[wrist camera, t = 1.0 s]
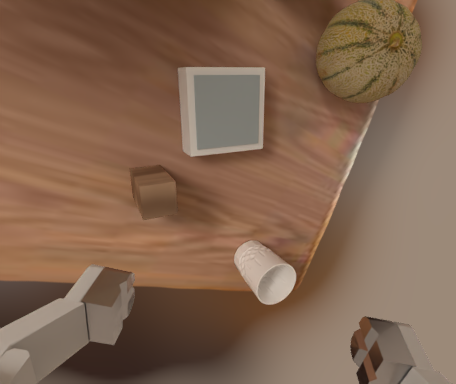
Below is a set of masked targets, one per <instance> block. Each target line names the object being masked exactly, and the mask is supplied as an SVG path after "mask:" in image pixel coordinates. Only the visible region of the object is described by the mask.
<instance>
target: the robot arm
mask: <svg viewBox="0 0 456 384" xmlns="http://www.w3.org/2000/svg"><path fill="white" fill-rule="evenodd" d="M134 281H135V278H134V273H132V272H127V271H123V270H118V269H114V268H109V267H103V266H98V265H94V264H92V265H90V266H89V267H88V268H87V269H86V270H85V272H84V273H83V274H82V276H81V277H80V278H79V280H78V281H77V282H76V284H75V285H74V286H73V287H72V289H71V290H70V292H69V293H68V294H67V296H66V297H65V298H64V299H61V298H59V299H57V300H55V301H53V302H52V303H49V304H47V305H45V306H44V307H42V308H40V309H38V310H36V311H34V312H32V313H30V314H28V315H26V316H24V317H22V318H20V319H18V320H16V321H14V322H13V323H11V324H9V325H7V326H5V327H3V328H1V329H0V384H37V383H38V382H39V381H40V380H41V379H43V378H44V377H45V376H47V375H48V374H49V373H50V372H52V371H53V370H54V369H56V368H57V367H58V366H59V365H61V364H62V363H63V362H64V361H65V360H67V359H68V358H70V357H71V356H72V355H73V354H75V353H76V352H77V351H78V350H80V349H81V348H82V347H83V346H85V345H86V344H87V343H88V342H89V341H94V342H100V343H106V344H112V345H114V344H115V342H116V340H117V337H118V335H119V334H120V331H121V329H122V320H123V319H125V318H126V317H128V315H129V313H130V310H131V308H132V305H133V301H134V295H135V290H134V288H133V287H132V285H133V283H134ZM359 325H360V328H361V329H359V330H357V331H355V332H354V334H353V336H352V338H351V345H350V347H351V355H352V359H353V361H354V362H355V363H356V364H357V366H358V367H359V369H358V371H357V373H356V374H357V377H358V381H359V384H452V383H451V382H450V381H449V380H447V379H446V378H445V377H444V376H443V375H442V374H441V373H440V372H438V371H434V369H433V367H432V365H431V363H430V361H429V359H428V357H427V355H426V353H425V351H424V349H423V347H422V345H421V343H420V341H419V339H418V338H417V335H416V333H415V331H414V330H413V328H412V327H411V326H410V325H409V324H404V323H399V322H392V321H387V320H382V319H377V318H371V317H366V316H365V317H363V318H362V319H361V321H360V322H359Z"/></svg>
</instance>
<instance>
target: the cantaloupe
mask: <svg viewBox="0 0 456 384" xmlns="http://www.w3.org/2000/svg"><path fill="white" fill-rule="evenodd" d="M421 50H422V40H421V32H420V26H419V25H418V22H417V20H416V19H415V18H414V16H413V15H412V13H411V12H410V11H409V9H408V8H407V7H405V6H403V5H402V4H399V3H397V2H395V1H393V0H359V1H358V2H356V3H353V4H351V5H349V6H348V7H346V8H344V9H342V10H341V11H340V12H339V13H337V14H336V15H335V16H334V17H333V18H332V19H331V21H330V22H329V23H328V25H327V27H326V29H325V31H324V32H323V34H322V35H321V38H320V40H319V43H318V46H317V50H316V68H317V71H318V75H319V77H320V78H321V80H322V83H323V85H324V86H325V87H326V88H327V89H328V90H329V91H330V92H331V93H333V94H334V95H336V96H337V97H340V98H341V99H343V100H346V101H349V102H354V103H368V102H372V101H375V100H378V99H380V98H382V97H384V96H387V95H389V94H391V93H393V92H394V91H395V90H397V89H398V88H399V87H400V86H401V85H402V84H403V83H404V82H405V81H406V80H407V79H408V77H409V76H410V74H411V72H412V70H413V68H414V67H415V65H416V63H417V62H418V59H419V56H420V54H421Z"/></svg>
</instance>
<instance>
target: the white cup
mask: <svg viewBox="0 0 456 384" xmlns="http://www.w3.org/2000/svg"><path fill="white" fill-rule="evenodd" d="M234 263H235V265H236V268H237V269H238V270H239V272H240V274H241V275H242V277H243V278H244V280H245V281H246V283H247V284H248V285H249V287H250V288H251V289H252V291H253V292H254V294H255V295H256V296H257V298H258V299H259V300H260V301H261V302H262V303H264V304H269V305H271V304H275V303H278V302H280V301H282V300H283V299H285V298H286V297H287V296H288V295H289V294H290V292H291V291H292V289H293V288H294V285H295V282H296V272H295V270H294V268H293V267H292V266H291V265H289V264H288V263H287V262H286V261H284V260H283V259H282V258H281V257H279V256H278V255H277V254H275V253H274V252H273V251H271V250H270V249H269V248H267V247H265V246H264V245H262V244H261V243H260V242H258V241H253V240H250V241H248V242H245V243H243V244H242V245H241V246H240V247H239V248H238V249H237V251H236V253H235V256H234Z"/></svg>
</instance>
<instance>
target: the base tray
mask: <svg viewBox="0 0 456 384" xmlns="http://www.w3.org/2000/svg"><path fill="white" fill-rule="evenodd" d="M178 80H179V96H180V112H181V128H182V144H183V152H185V153H186V154H188V155H189V156H191V157H193V156H202V155H211V154H220V153H229V152H238V151H247V150H256V149H263V126H264V92H265V68H262V67H182V68H178Z"/></svg>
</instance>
